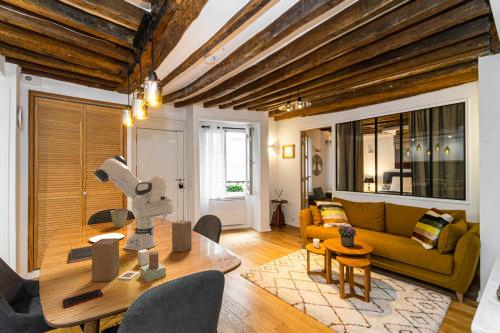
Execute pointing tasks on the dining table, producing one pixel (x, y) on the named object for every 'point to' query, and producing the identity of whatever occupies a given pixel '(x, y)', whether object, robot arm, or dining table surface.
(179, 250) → the block
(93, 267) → the wooden block
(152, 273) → the base block
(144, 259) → the off-white block
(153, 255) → the walnut block
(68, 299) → the cell phone
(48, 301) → the dining table surface
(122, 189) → the robot arm
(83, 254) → the hardcover book
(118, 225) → the plant pot
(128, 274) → the card
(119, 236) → the plate
